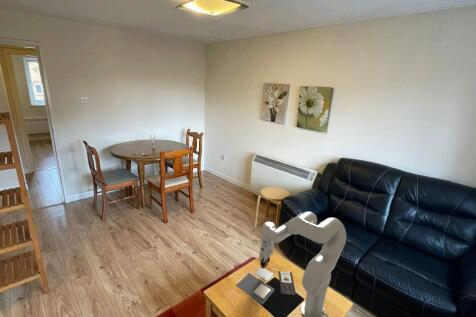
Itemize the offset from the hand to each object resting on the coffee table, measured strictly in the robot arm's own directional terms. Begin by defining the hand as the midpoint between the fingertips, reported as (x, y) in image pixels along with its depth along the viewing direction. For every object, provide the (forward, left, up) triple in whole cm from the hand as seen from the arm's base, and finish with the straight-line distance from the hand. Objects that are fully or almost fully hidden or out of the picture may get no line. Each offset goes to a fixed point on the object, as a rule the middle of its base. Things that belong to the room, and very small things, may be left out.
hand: (264, 263), depth 158 cm
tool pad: (0, 0, -9) cm, 9 cm away
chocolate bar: (-15, -4, -10) cm, 18 cm away
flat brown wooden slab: (0, 0, -2) cm, 2 cm away
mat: (-2, +13, -9) cm, 16 cm away
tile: (-4, +13, -8) cm, 16 cm away
